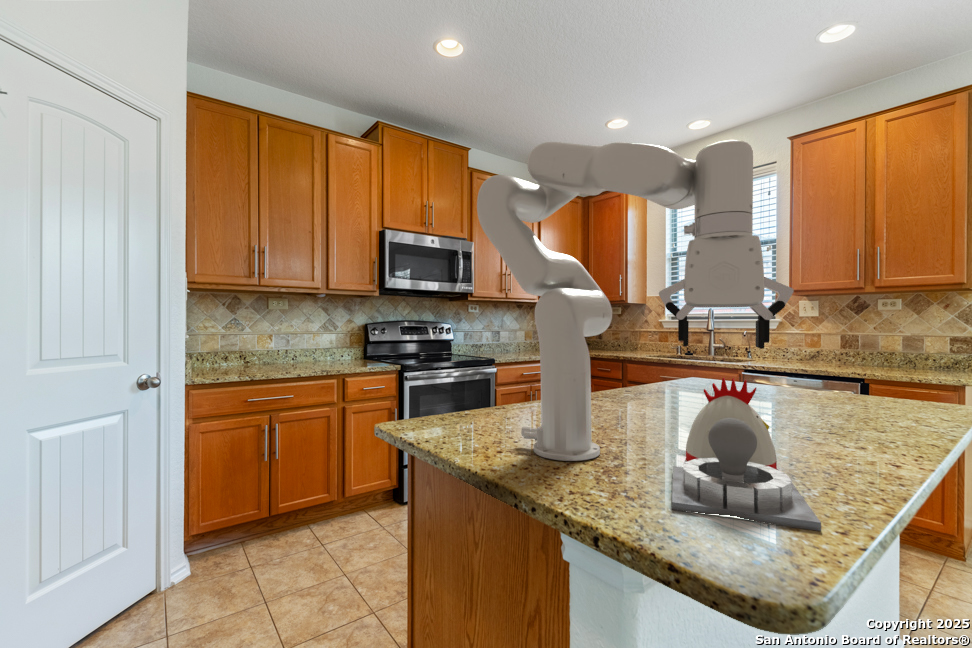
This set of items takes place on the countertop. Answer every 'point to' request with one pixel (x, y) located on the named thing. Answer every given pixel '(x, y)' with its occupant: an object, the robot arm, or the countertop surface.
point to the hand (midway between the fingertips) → (721, 347)
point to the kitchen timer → (730, 407)
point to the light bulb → (732, 447)
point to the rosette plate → (763, 515)
